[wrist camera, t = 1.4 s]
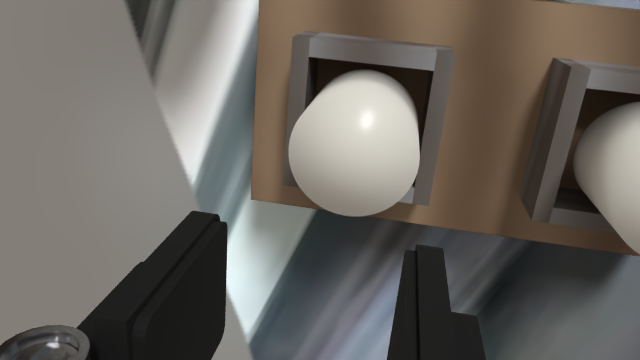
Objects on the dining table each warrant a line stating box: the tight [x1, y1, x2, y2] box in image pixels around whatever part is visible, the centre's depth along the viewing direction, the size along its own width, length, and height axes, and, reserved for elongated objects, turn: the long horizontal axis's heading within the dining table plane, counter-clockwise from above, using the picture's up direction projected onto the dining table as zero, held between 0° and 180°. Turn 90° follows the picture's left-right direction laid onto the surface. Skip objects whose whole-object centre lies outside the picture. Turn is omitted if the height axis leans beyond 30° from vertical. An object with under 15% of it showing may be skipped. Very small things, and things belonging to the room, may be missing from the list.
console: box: [251, 0, 640, 256], centre depth 28 cm, size 24×12×9 cm, turn 84°
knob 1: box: [289, 69, 420, 217], centre depth 22 cm, size 5×5×5 cm
